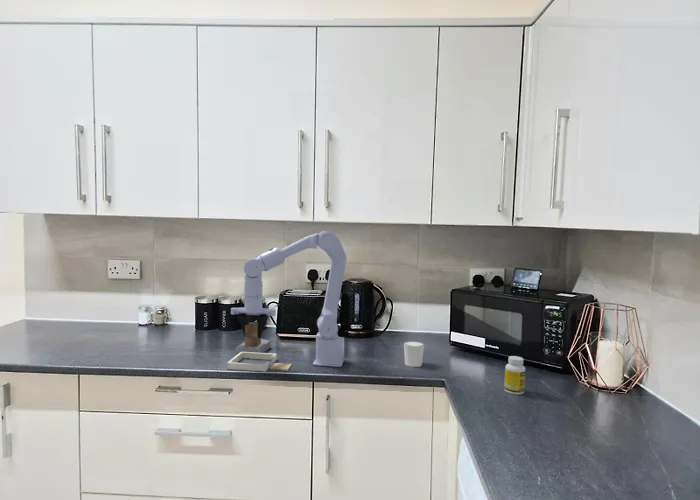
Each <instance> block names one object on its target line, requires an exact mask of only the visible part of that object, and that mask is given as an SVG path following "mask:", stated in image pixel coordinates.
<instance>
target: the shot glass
mask: <svg viewBox="0 0 700 500" xmlns="http://www.w3.org/2000/svg"><path fill="white" fill-rule="evenodd" d="M403 350H404V351H403V352H404V365H405V366H407V367H412V368H414V367H415V368H418V367H419V368H420V367H421V366H422V365H423V359H424V358H423V357H424V350H425V343H422V342H420V341H405V342H403Z"/></svg>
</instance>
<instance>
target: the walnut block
mask: <svg viewBox="0 0 700 500" xmlns="http://www.w3.org/2000/svg"><path fill="white" fill-rule="evenodd" d="M261 339H262V337H261V338H258V322H252V321H251V322H249V323H248V324H246V325H245V337H244V342H245V347H258V346H259V345H260V344H261Z"/></svg>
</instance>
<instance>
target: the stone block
mask: <svg viewBox="0 0 700 500" xmlns="http://www.w3.org/2000/svg"><path fill="white" fill-rule="evenodd" d="M271 345H272V343H271V339H263V338H261V344H260V345H259V346H258V347H245V341H243V342H241V344H239V345H237V346H236V349H235V352H236V355H237V354H239V353H240V352H255V353H266V352H267V351H268V350H269V349H270V348H271Z"/></svg>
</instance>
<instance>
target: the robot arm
mask: <svg viewBox="0 0 700 500" xmlns="http://www.w3.org/2000/svg"><path fill="white" fill-rule="evenodd" d="M318 247H319V248H320V249H321V250H322V251H323V252H325V253H326V254H327V256H328V258H329V259H330V260H331V263H330V270H329V274H328V279H327V284H326V291H325V296H324V301H323V307H322V309H321V313H320V316H319V317H318V318H317V320H316V326H317V328H318V332H317V333H316V337H315V359H314V361H313V363H312V365H313V366H323V367H336V368H337V367H339V368H341V367H342V365H343V363H344V361H345V338H344V337H343V336H342V337H341V336H339V334H338V332H339V326H338V323H337V322H338V321H337V320H338V308H339V303H340V297H341V291H342V286H343V281H344V275H345V269H346V265H347V258H348V257H347V254H346V252H345V250H344V248H343V245H342V243H341V240H340V238H339V237H338V236H337V235H336V234H335V233H334V232H332V231H330V230H322V231H320V232H319V233H318V232H317V233H313V234H310V235H308V236H305V237H303V238H301V239H299V240H297V241H295V242H293V243H291V244H290V245H287V246H284V247H283V248H279V247H274V248H273V247H269V248H268V251H265V252H263V253H261V254H256V255H255V256H254V257H255V258H250V259H248V260H247V261H246V262H245V263H244V266H243V271H244V273H245V275H244V285H243V286H244V292H243V293H244V298H243V299H244V307H231V308H230V315H238V316H237V321H238V322H239V324H240V326H241V328H242V331H243V337H244V338H245V325H246V324H248V323H249V321H250V316H257V317H256V321H257V323H258V338H261V339H262V337H263V333H264V328H265V325H266V324H267V320H269V317H270V316H271V317H275V316H276V315H277V309H275V308H274V309H273V308H266V307H263V279H262V278H263V275H262V273H263V272H268V271H271V270H273V269H274V268H277V267H278V266H281V265H282V264H284V263H285V261H286V259H287V258H288V257H290V256H293V255H295V254H298V253H300V252H302V251H305V250H306V249H317V250H318Z"/></svg>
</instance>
